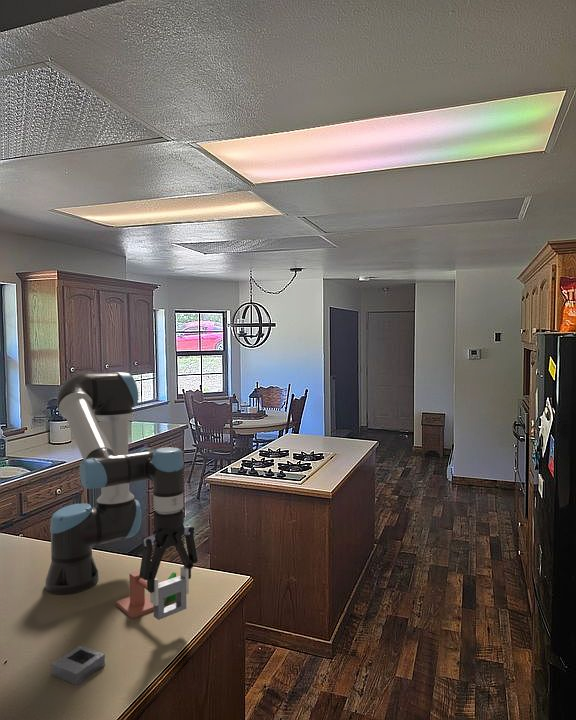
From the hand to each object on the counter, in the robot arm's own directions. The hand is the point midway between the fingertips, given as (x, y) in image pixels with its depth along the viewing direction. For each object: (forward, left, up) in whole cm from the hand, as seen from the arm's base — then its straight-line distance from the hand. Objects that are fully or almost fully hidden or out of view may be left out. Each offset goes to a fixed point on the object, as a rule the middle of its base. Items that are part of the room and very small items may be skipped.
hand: (169, 597), depth 133 cm
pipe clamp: (-17, +10, -10) cm, 22 cm away
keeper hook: (-13, 0, -9) cm, 16 cm away
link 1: (-1, -23, -9) cm, 25 cm away
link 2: (0, 0, -4) cm, 4 cm away
